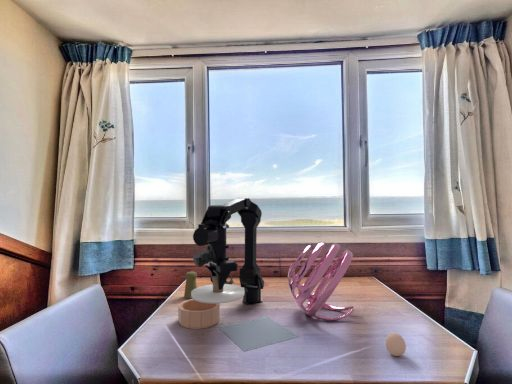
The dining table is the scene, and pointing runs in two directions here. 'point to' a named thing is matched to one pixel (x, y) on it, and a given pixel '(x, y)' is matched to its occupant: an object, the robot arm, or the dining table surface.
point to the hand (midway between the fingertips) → (218, 288)
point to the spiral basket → (306, 289)
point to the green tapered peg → (190, 284)
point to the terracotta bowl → (198, 314)
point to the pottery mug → (226, 281)
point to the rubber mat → (257, 333)
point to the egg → (395, 344)
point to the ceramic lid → (217, 293)
